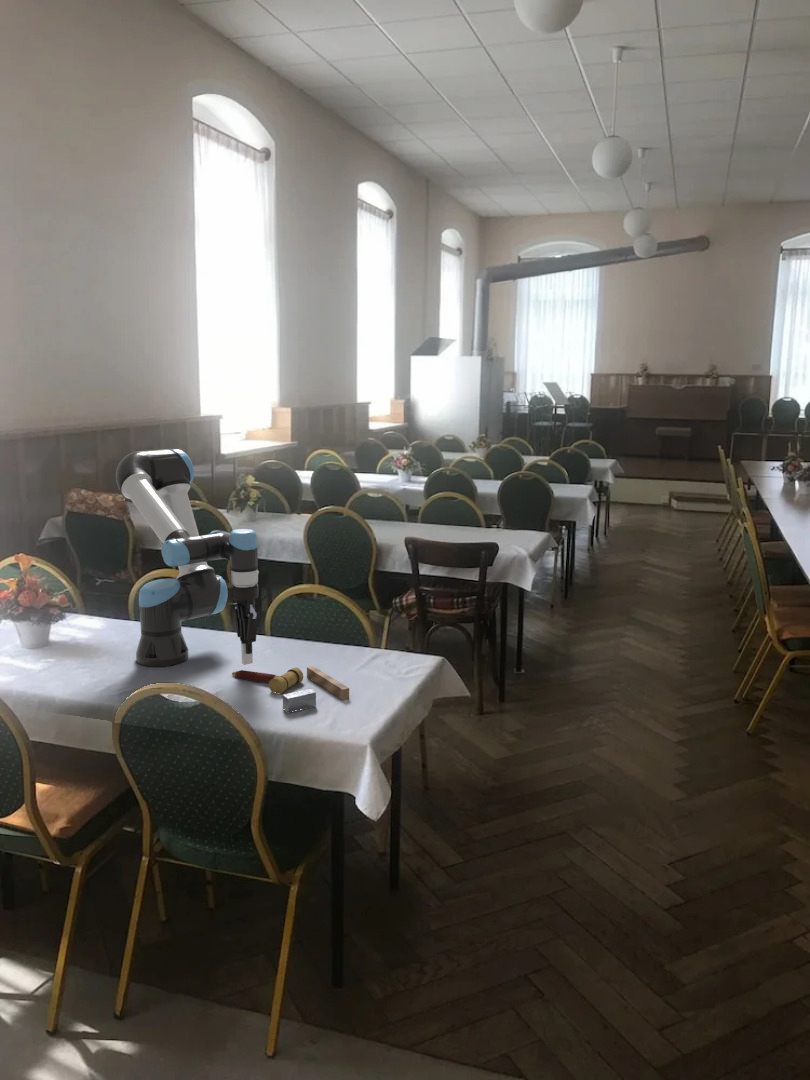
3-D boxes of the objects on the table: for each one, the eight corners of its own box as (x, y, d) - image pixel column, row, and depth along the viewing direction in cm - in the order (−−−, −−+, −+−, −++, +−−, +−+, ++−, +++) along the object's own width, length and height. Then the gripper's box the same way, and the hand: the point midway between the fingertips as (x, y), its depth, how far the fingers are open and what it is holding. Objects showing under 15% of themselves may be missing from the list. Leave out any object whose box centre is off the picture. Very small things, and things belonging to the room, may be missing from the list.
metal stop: (283, 709, 219) (282, 694, 219) (310, 702, 224) (310, 688, 223) (288, 713, 217) (288, 698, 216) (316, 706, 221) (315, 692, 221)
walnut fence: (306, 677, 242) (306, 667, 241) (313, 675, 243) (313, 665, 243) (342, 700, 226) (342, 689, 225) (349, 698, 227) (349, 687, 226)
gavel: (220, 671, 238) (242, 660, 247) (221, 686, 239) (243, 675, 247) (282, 679, 228) (303, 668, 237) (283, 695, 229) (304, 683, 238)
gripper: (266, 587, 238) (269, 667, 243) (247, 577, 249) (249, 654, 253) (241, 590, 234) (244, 672, 239) (223, 581, 245) (226, 659, 249)
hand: (247, 663), depth 246 cm, fingers closed
